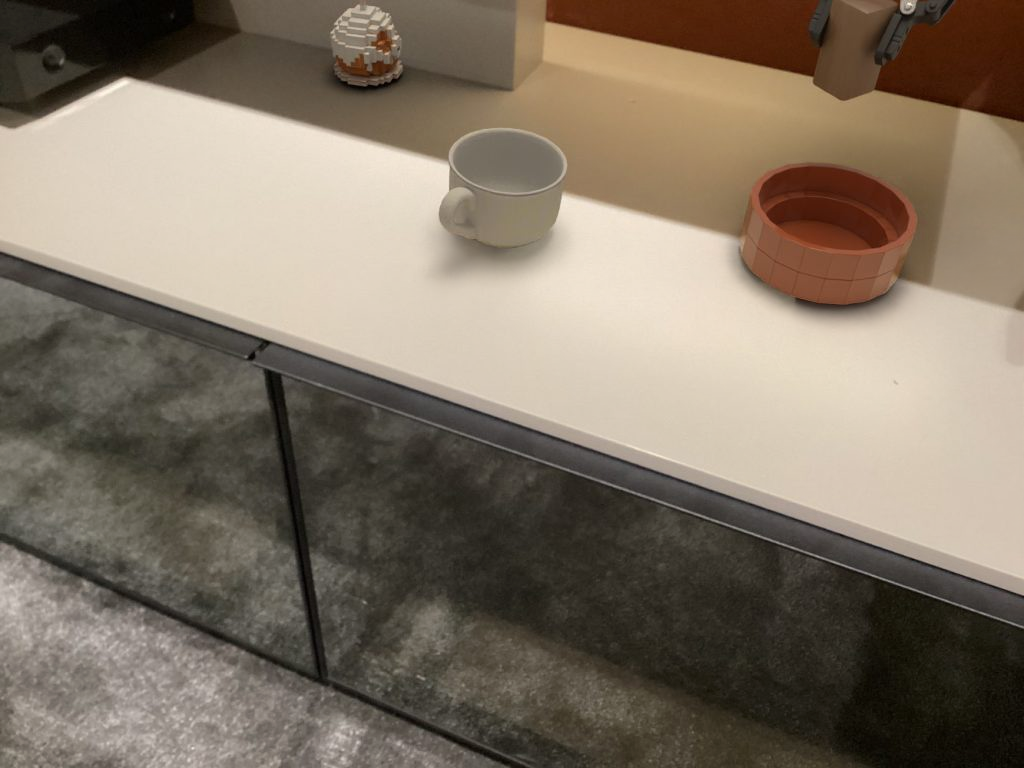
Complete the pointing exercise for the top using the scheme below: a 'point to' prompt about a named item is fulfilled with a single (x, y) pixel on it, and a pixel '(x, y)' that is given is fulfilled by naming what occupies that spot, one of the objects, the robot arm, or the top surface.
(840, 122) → the top surface
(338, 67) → the decorative ornament
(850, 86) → the wooden block
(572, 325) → the top surface
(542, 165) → the teacup
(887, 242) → the bowl
